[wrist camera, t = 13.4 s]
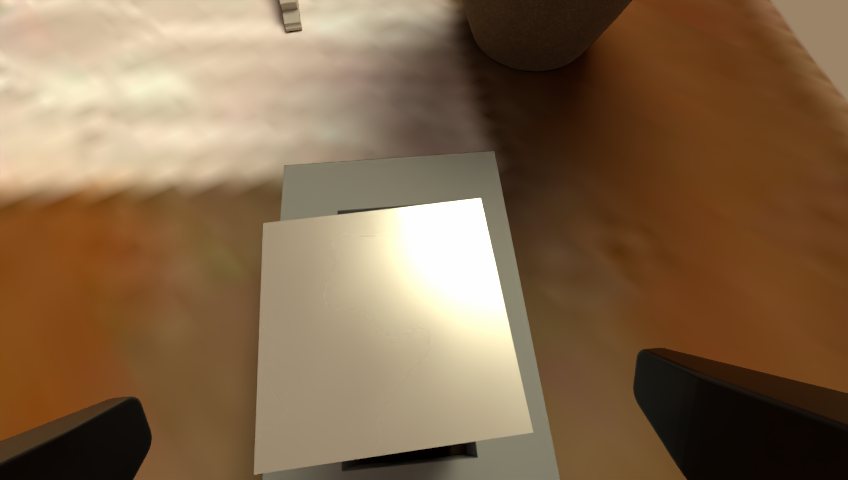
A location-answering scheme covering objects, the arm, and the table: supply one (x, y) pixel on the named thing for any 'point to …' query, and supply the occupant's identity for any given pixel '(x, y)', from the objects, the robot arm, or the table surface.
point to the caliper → (291, 14)
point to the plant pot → (539, 29)
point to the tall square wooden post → (382, 337)
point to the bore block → (478, 178)
